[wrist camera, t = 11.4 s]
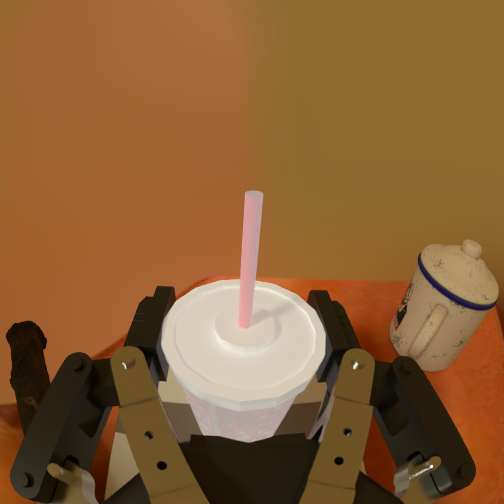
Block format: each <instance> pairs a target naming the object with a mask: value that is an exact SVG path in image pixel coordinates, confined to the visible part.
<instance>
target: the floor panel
mask: <svg viewBox="0 0 504 504" xmlns="http://www.w3.org/2000/svg"><path fill="white" fill-rule="evenodd" d="M326 389H327V385H326V382H322V383H318V382H317V378H316V373H315V374H314V376H313V378H312V379H311V381H310V382H309V384H308V385H307V387H306V388H305V390H304V391H302V392H300V393H299V394H297V396H296V398H295V399H294V401H293V403H292V405H291V406H290V408H289V410H288V411H287V413H286V415H285V416H284V418H283V420H282V421H281V423H280V425H279V426H278V428H277V430H276V431H275V433H274V434H273V436H276V435H283V434H295V433H305V436H306V439H308V436H309V434H310V432H311V430H312V428H313V426H314V423H315V420H316V418H317V415H318V412H319V409H320V406H321V403H322V400H323V396H324V393H325V391H326ZM158 393H159V395H160V398H161V400H162V403H163V405H164V408H165V410H166V413H167V415H168V418H169V420H170V422H171V425H172V427H173V429H174V431H175V433H176V435H177V437H178V440H179V442H184V441H189V440H190V437H191V434H195V435H203V433H202V431H201V429H200V427H199V425H198V422H197V420H196V418H195V416H194V413H193V411H192V409H191V406H190V404H189V401H188V399H187V396H186V394H185V391H184V389H183V386H182V385H180V384H179V383H178V382H177V380H176V378H175V376H174V374H173V372H172V370H171V368H170V366H169V370H168V376H167V382H164V381H159V385H158ZM360 471H361V472H363V473H364V474H365V475H366V471H365V466H364V462H363V459H362V463H361V466H360ZM138 473H139V470H138V468H137V465H136V462H135V460H134V457H133V454H132V452H131V449H130V446H129V443H128V440H127V437H126V434H125V431H124V427H123V424H122V421H121V417H120V414H119V415H118V419H117V424H116V428H115V436H114V441H113V447H112V452H111V458H110V464H109V470H108V477H107V484H106V492H105V500H106V499H107V498H109V497H110V496H111V495H112V494H114V493H115V492H116V491H117V490H119V489H120V488H121V487H122V486H123V485H125V484H126V483H127V482H128V481H129V480H131V479H132V478H133V477H134V476H135V475H136V474H138ZM105 500H104V501H105Z"/></svg>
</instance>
